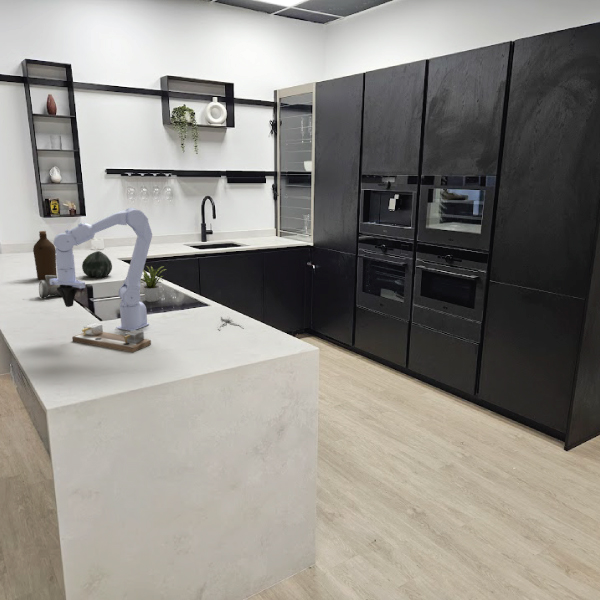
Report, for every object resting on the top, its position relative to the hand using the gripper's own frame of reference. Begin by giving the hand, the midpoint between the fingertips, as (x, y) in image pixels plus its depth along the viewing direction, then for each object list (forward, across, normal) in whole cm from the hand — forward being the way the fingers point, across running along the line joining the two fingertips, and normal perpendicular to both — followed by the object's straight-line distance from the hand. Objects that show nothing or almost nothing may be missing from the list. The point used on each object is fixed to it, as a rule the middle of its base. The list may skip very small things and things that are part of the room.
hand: (69, 306), depth 184 cm
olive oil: (+11, -87, +67) cm, 110 cm away
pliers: (+11, +43, +36) cm, 57 cm away
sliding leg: (+9, +10, -1) cm, 13 cm away
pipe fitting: (+11, -51, +39) cm, 65 cm away
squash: (+11, -67, +83) cm, 107 cm away
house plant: (+11, -6, +54) cm, 55 cm away
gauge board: (+10, +19, -1) cm, 22 cm away
